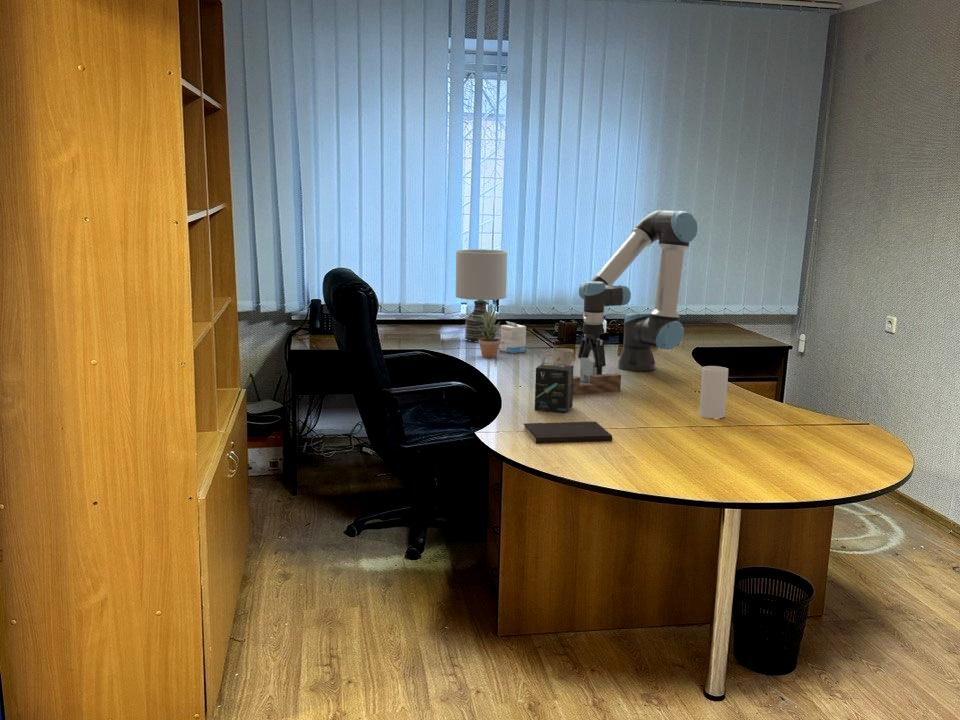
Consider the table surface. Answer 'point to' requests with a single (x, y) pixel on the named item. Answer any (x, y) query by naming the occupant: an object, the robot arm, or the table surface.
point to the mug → (560, 356)
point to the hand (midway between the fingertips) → (590, 380)
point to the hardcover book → (567, 432)
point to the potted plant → (489, 335)
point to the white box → (513, 338)
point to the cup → (713, 392)
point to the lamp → (480, 284)
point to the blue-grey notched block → (586, 368)
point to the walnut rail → (598, 384)
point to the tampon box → (554, 388)
